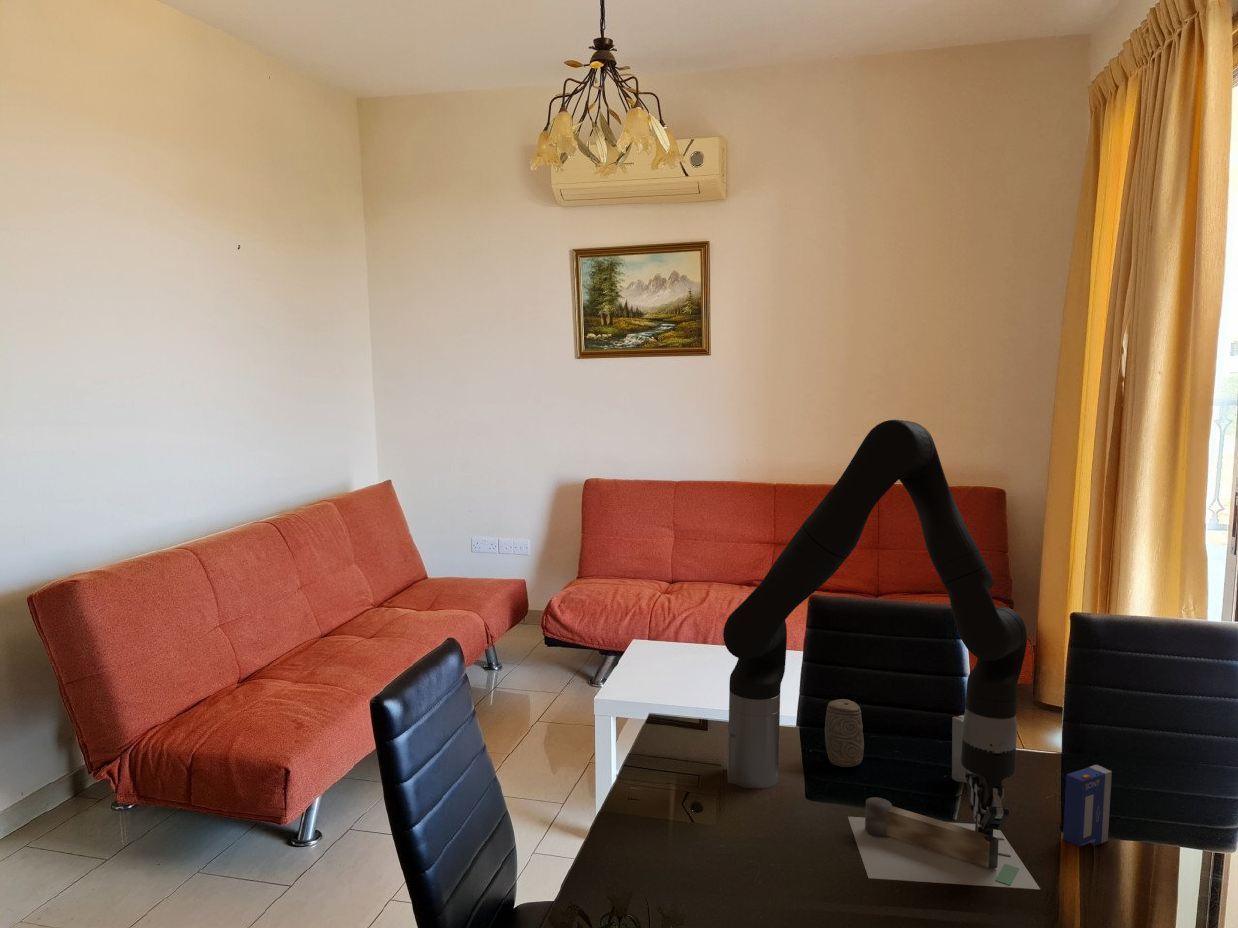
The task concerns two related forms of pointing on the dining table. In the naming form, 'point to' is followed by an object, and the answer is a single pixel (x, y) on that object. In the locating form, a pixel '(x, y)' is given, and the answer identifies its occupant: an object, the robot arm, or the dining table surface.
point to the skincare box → (957, 750)
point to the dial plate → (936, 862)
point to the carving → (844, 733)
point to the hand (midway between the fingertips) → (983, 847)
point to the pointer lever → (930, 833)
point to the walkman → (1087, 806)
